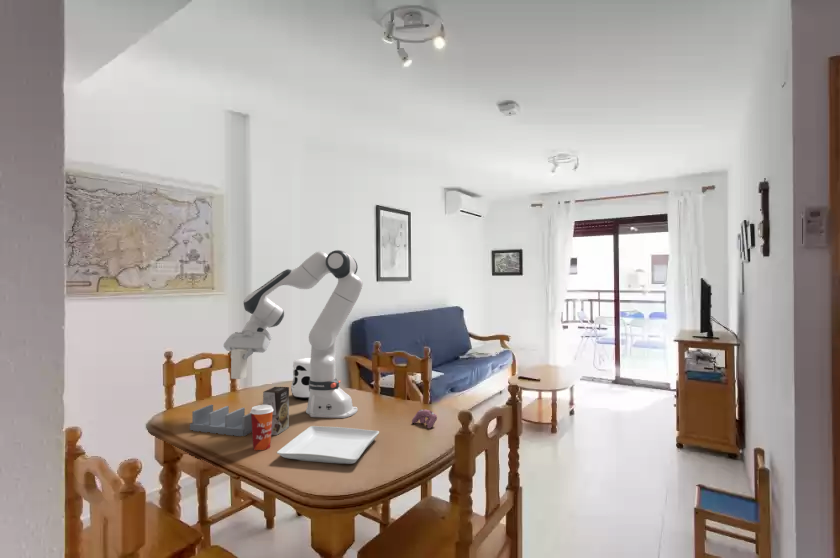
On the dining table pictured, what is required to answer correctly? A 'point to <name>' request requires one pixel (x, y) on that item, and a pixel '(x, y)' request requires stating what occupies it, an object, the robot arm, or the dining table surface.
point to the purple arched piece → (422, 414)
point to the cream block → (238, 364)
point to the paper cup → (261, 426)
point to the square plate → (329, 444)
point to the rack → (221, 421)
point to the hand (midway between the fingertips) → (238, 358)
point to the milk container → (301, 378)
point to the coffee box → (278, 408)
